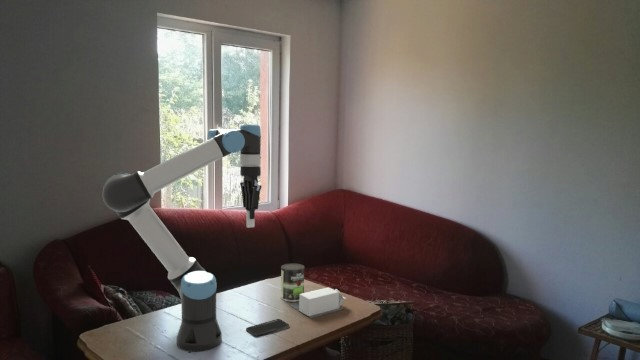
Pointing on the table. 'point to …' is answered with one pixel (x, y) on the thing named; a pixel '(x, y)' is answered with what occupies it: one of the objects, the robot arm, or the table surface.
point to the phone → (267, 327)
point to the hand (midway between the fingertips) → (250, 226)
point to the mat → (296, 306)
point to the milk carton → (320, 301)
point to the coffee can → (292, 281)
